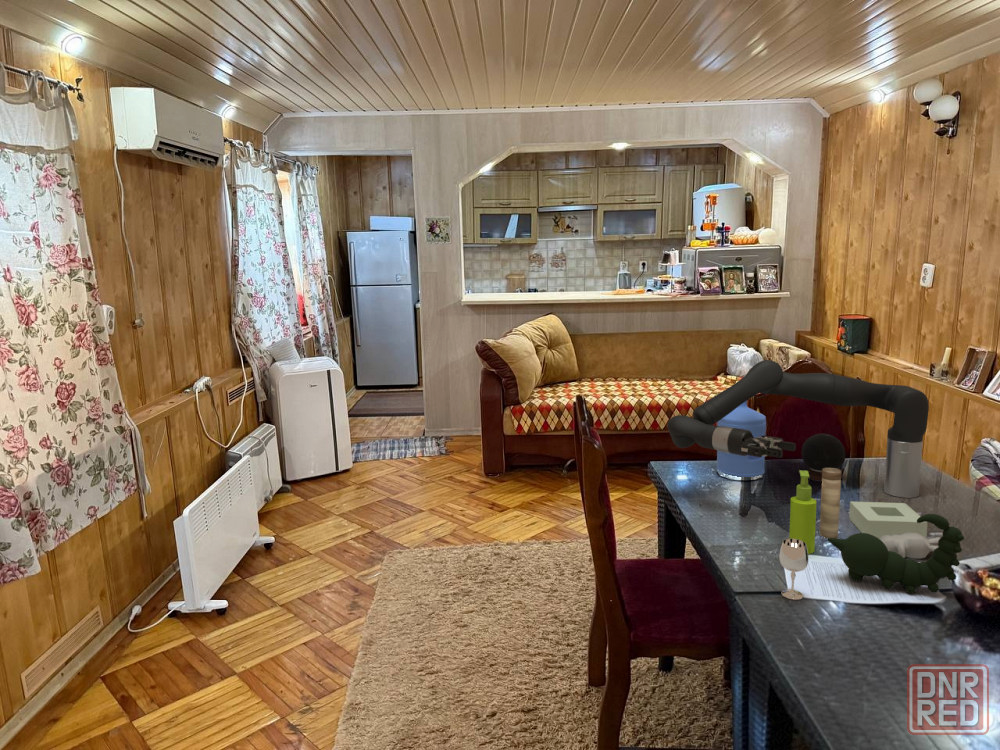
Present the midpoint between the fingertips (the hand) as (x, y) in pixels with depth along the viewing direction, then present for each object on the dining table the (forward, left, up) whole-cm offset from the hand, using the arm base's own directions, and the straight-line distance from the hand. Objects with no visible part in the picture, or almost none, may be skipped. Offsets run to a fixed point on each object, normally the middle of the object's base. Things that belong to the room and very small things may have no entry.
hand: (788, 450), depth 178 cm
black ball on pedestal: (-44, +21, -21) cm, 53 cm away
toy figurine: (+33, +14, -22) cm, 42 cm away
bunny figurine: (+16, +25, -22) cm, 37 cm away
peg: (+6, +9, -21) cm, 24 cm away
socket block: (0, +25, -21) cm, 33 cm away
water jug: (-45, -5, -21) cm, 50 cm away
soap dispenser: (+15, 0, -21) cm, 26 cm away
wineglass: (+40, -8, -21) cm, 46 cm away
